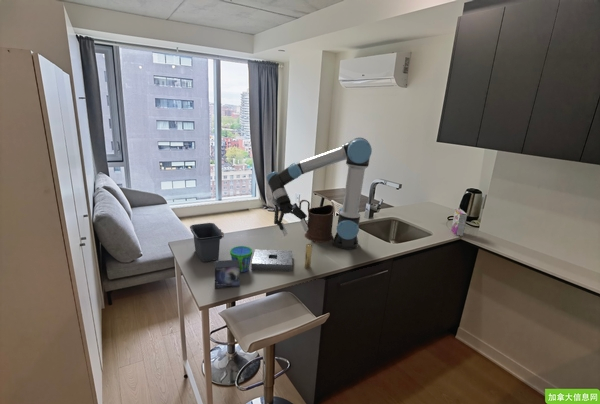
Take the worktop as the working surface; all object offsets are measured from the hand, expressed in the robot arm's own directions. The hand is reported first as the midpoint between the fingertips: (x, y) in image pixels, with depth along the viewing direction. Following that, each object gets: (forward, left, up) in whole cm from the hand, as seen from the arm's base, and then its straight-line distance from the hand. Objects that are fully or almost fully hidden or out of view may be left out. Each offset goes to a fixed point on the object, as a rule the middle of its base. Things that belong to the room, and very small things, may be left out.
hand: (296, 232), depth 159 cm
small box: (+31, +28, -15) cm, 44 cm away
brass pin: (-6, +9, -15) cm, 18 cm away
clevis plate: (+12, +6, -15) cm, 20 cm away
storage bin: (+46, -1, -15) cm, 49 cm away
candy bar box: (-116, -50, -15) cm, 128 cm away
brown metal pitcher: (-13, -32, -15) cm, 38 cm away
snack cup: (+27, +14, -15) cm, 34 cm away
